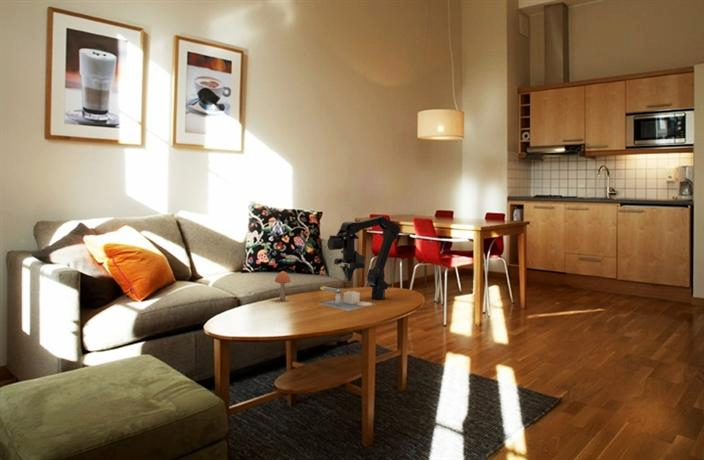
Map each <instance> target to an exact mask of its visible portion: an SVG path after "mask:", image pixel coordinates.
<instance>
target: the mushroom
mask: <svg viewBox="0 0 704 460" xmlns="http://www.w3.org/2000/svg"><path fill="white" fill-rule="evenodd" d="M291 281H292V280H291V277H290V275H289V274H288V273H287V272H286V271H284V270H282V271H280V272H279V273H278V274H277V276H276V277H275V279H274V282H275V283H277V284H280V292H279V301H281V302H284V301H286V291H285V289H286V284H289V283H291Z"/></svg>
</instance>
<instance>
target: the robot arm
mask: <svg viewBox="0 0 704 460" xmlns="http://www.w3.org/2000/svg"><path fill="white" fill-rule="evenodd" d="M376 226H378V228H380V229H381V230H382V233H381V234H382V238H383V239H382V242H381V246H380V248H379V252H378V256H377V257H376V261H375V264H374V267H372V268H369V269H368V272H367V275H366V281H367V283H368V285H369V287H370V288H371V300H374V301H376V300H384V299H385V298H386V290H388V288H389V284H388V283H387V282H386V281H385V278H386V277H385V267H386V264H387V261H388V259H389V258H388V257H389V255H390V252H391V249H392V246H393V243H394V242H395V241H396V240H397V239H398V237H399V235H400V232H401V228H400V226H399V225H398V224H396V223H394V222H392V221H391V220H389V219H387V218H386V217H384V215H383V216H382V215H381V216H379V215H378V216H375V217H371V218H368V219H363V220H359V221H344V222H342V223H341V226H340V229H339V230H338V231H337V233H336V235H329V238H328V239H327V243H326V245H327V246H326V247H327V249H328V250H329V251H336V250H337V251H338V250H340V252H341V254H342V257H338V258H335V259H334V260H333V263H334V265H336V266H337V265H340V264H341V265H340V268H341V270H342V272H343V274H344V275H345V278H346V280H347V282H351V281H352V277H353V275H354V272H355V270H358V269H365V267H366V266H365V263H366V262H365V261H366V258H367V256H364V255H362V254H360V253H359V252H358V250H356V240H359V239H360V238H359V236H358V235H357V233H359V232H361V231H363V230H365V229H370V228H373V227H376Z"/></svg>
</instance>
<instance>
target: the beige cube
mask: <svg viewBox="0 0 704 460" xmlns="http://www.w3.org/2000/svg"><path fill="white" fill-rule="evenodd" d="M360 294H361V293H360V292H359V291H355V290H348V291H345V292H343V298H344V302H345V303H349V304H354V303H358V302H360V301H361V300H360Z"/></svg>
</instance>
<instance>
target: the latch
mask: <svg viewBox="0 0 704 460" xmlns="http://www.w3.org/2000/svg"><path fill="white" fill-rule="evenodd" d="M320 290H322V291H327V292H332V293H341V294H342V292H343V289H342V288H336V287H329V286H320Z"/></svg>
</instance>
